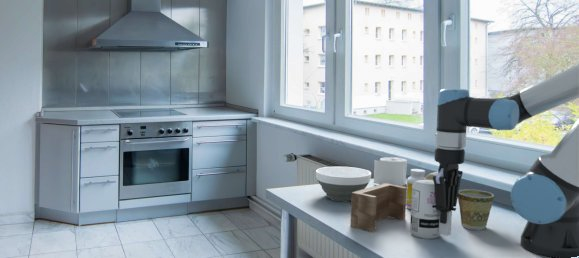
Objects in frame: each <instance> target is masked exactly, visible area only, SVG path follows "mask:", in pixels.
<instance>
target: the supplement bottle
mask: <svg viewBox="0 0 579 258" xmlns="http://www.w3.org/2000/svg"><path fill="white" fill-rule="evenodd" d="M425 175H426V170H425V169H419V168H411V169H410V176H408V178H406V187H407V191H406V209H408V210H411V200H412V185H413V184H414V182H415V180H417V179H426V178H425Z"/></svg>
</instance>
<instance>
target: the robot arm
mask: <svg viewBox="0 0 579 258" xmlns="http://www.w3.org/2000/svg"><path fill="white" fill-rule="evenodd" d="M576 99H579V63H578V64H575V65H574V66H572V67H569V68H567V69H565V70H562V71H560V72H558V73H556V74H553V75H552V76H550V77H547V78H545V79H542V80H540V81H538V82H536V83H534V84H532V85H530V86H527V87H525V88H522V89H520V90H519V91H516V92H514V93H511V94H510V95H507V96H505V97H498V98H497V97H495V98H489V97H471V96H470V91H469V90H468V89H464V88H463V89H462V88H442V89H440V91H439V93H438V99H437V100H438V101H437V105H436V107H437V110H436V111H437V113H436V114H437V115H436V133H435V134H434V137H435V145H436V147H435V148H434V161H435V162H437V163H439V166H438V169H437V171H438V175H437V176H435V175H434V176H433V181H434V185H435V203H436V210H440V217H439V234H440V235H443V236H447V237H448V236H450V235H451V231H452V219H453V218H452V216H453V211H454V212H455V211H457V208H456V207H457V203H458V192H459V190H460V187H461V181H462V177H463V170H459V168H460V167H459V165H463V164H464V163H465V156H466V155H465V154H466V150H465V149H464V148H465V147H466V142H467V127H468V128H469V127H470V128H473V127H474V128H480V129H488V130H489V129H490V130H496V131H512V130H514V129H515V128H516V126H517V125H519V124H521V123H523V122H524V121H526V120H528V119H530V118H532V117H534V116H538V115H541V114H542V113H544V112H547V111H550V110H552V109H554V108H557V107H559V106H561V105H565V104H567V103H569V102H571V101H574V100H576ZM510 200H511V204H512V206H513V209H514V210H515V212H516V213H517V214H518V215H519V216H520V217H521V218H523V219H524V220H525V221H527V222H526V224H525V226H524V227H523V231H522V232H521V235H520V246H521V247H522V248H523V249H525V250H527V251H529V252H530V253H531V252H532V253H533V254H537V255H540V254H541V256H545V257H549V256H550V257H549V258H554V257H560V258H571V257H577V256H579V117H578V118H577V119H576V120H575V122H574V123H573V124H572V126H570V128H569V130H568V131H567V132H566V134H564V135H563V137H562V138H561V140H560V141H559V142H558V143H557V144H556V145H555V147H554V149H553V150H552V151H551V152H550V153H546V154H540V155H539V156H538V157H537V158H536V159H535V161H534V163H533V164H532V165H531V166H530V168H529V169H527V171H526V173H525V174H524V175H522V176H520V177H519V178H517V179H516V181H515V182H514V184H513V185H512V187H511V190H510Z"/></svg>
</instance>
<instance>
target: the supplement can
mask: <svg viewBox="0 0 579 258" xmlns="http://www.w3.org/2000/svg"><path fill="white" fill-rule="evenodd" d="M439 217H440V210H436V203H435V185H434V181H433V180H432V179H417V180H415V182H414V184H413V185H412V200H411V209H410V222H409V224H410V226H409V232H410V233H411V234H412V235H413V236H414V237H417V238H419V239H424V240H433V239H437V238H438V237H439V236H441V234H439Z"/></svg>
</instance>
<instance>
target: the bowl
mask: <svg viewBox="0 0 579 258" xmlns="http://www.w3.org/2000/svg"><path fill="white" fill-rule="evenodd" d="M315 176H316V180H317V182H318V183H319V185H320V186H321V189H322V190H323V193H325V194H326V197H327V199H329V200H331V201H336V202H343V201H348V202H351V196H352V192H355V191H359V190H362V189H366V188H367V186H368V185H369V184H370V182H371V178H372V172H371V171H370V170H368V169H364V168H360V167H354V166H353V167H351V166H325V167H324V166H323V167H320V168H317V169H316V170H315Z"/></svg>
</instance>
